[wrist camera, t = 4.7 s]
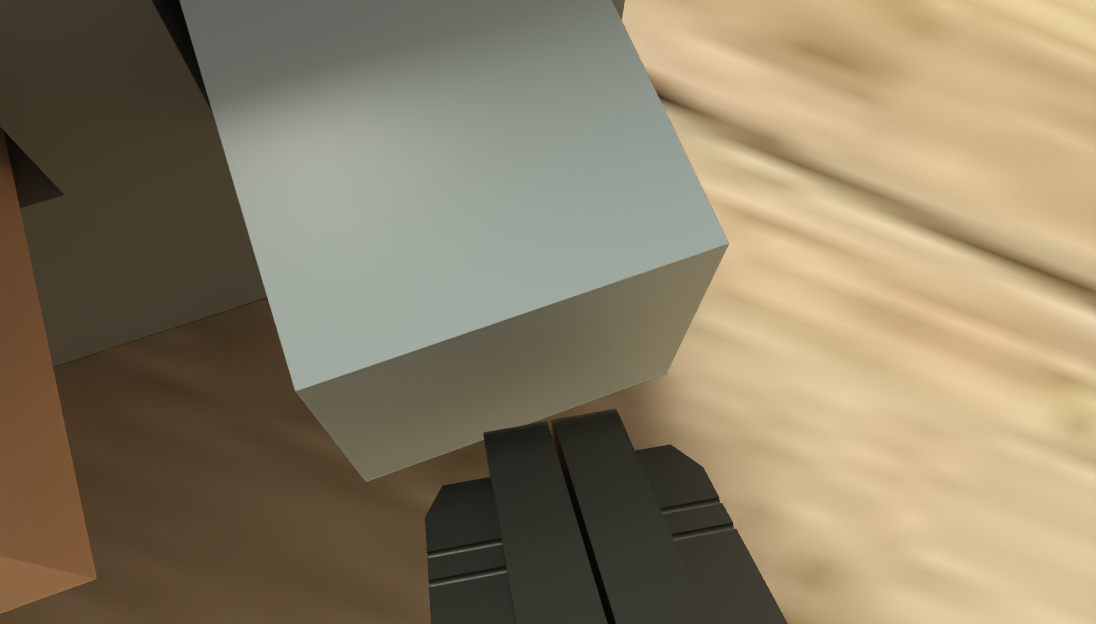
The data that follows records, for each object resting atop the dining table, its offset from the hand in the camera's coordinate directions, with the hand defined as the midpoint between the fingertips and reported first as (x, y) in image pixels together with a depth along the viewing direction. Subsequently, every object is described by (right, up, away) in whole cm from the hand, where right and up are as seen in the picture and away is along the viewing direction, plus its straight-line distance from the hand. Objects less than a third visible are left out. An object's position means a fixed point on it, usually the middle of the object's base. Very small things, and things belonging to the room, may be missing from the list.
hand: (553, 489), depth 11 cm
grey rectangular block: (-2, +4, +4) cm, 6 cm away
